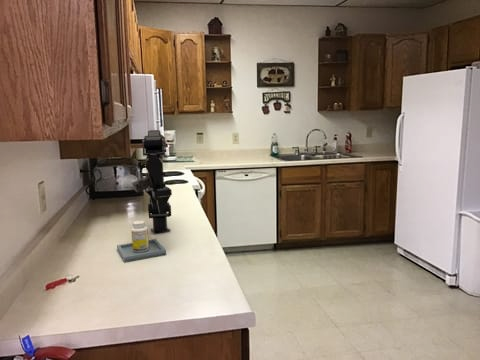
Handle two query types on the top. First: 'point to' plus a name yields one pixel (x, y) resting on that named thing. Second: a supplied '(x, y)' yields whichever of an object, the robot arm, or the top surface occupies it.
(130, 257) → the tray
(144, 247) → the supplement bottle
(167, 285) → the top surface
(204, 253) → the top surface
